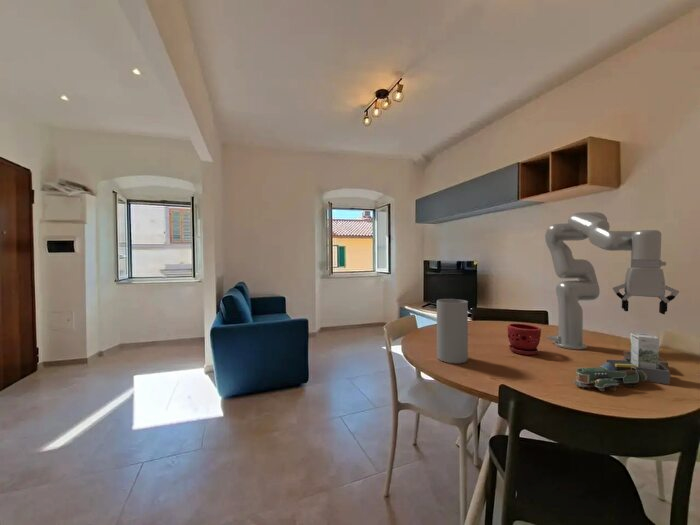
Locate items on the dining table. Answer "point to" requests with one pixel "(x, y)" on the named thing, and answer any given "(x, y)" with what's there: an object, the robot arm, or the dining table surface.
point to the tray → (655, 373)
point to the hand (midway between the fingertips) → (643, 312)
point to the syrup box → (644, 350)
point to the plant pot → (523, 338)
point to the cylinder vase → (452, 330)
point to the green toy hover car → (608, 377)
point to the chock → (622, 365)
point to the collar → (660, 359)
